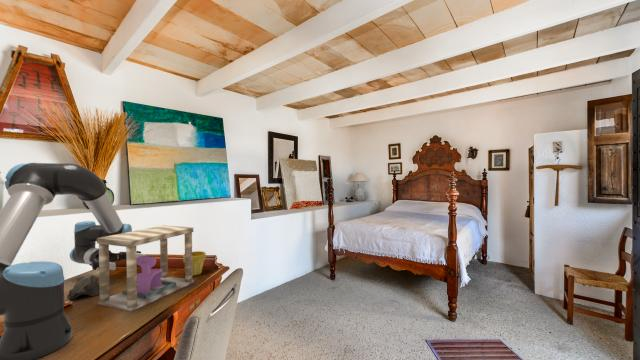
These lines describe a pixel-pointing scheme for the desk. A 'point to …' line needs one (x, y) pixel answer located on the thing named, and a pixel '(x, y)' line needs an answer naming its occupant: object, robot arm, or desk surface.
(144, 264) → the toy chair
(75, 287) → the fossil
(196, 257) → the plant pot
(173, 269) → the desk surface
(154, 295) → the canopy shelf
